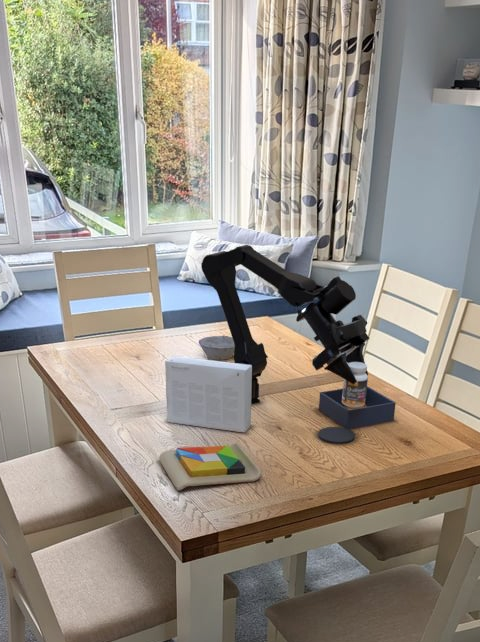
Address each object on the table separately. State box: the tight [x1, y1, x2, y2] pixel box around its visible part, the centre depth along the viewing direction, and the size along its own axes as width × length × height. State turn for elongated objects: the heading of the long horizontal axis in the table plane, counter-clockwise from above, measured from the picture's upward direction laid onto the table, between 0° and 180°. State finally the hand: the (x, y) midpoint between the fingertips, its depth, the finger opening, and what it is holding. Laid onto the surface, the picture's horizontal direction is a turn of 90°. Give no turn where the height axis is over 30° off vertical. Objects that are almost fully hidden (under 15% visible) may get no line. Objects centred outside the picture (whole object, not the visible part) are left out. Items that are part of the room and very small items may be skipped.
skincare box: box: [164, 355, 252, 433], centre depth 185 cm, size 21×5×16 cm, turn 71°
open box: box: [318, 385, 397, 430], centre depth 193 cm, size 14×14×5 cm
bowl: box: [198, 335, 235, 361], centre depth 235 cm, size 13×13×5 cm
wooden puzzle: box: [158, 442, 262, 491], centre depth 165 cm, size 18×19×4 cm
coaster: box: [317, 426, 356, 445], centre depth 182 cm, size 9×9×1 cm
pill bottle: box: [342, 362, 369, 409], centre depth 181 cm, size 6×6×10 cm
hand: (360, 379), depth 179 cm, fingers closed on pill bottle, 5 cm apart
